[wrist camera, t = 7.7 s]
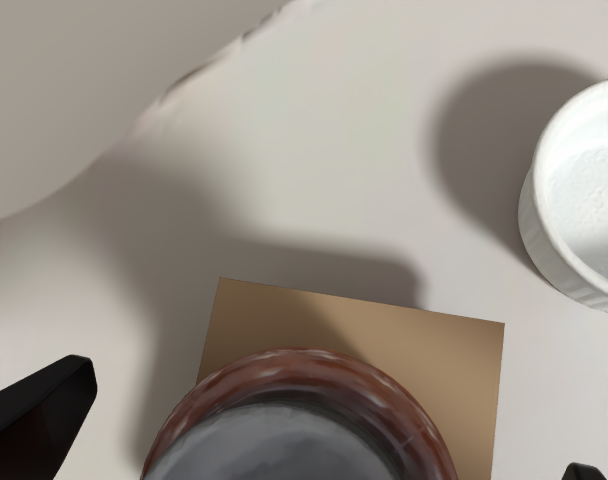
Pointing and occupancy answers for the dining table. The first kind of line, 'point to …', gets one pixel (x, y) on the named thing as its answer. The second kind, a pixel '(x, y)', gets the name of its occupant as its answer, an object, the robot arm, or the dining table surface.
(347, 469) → the supplement bottle
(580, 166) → the ramekin
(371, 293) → the dining table surface
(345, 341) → the stool
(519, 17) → the dining table surface
